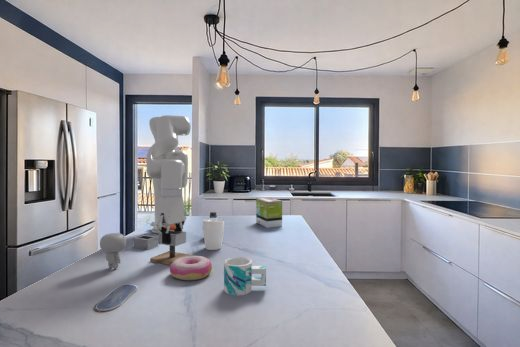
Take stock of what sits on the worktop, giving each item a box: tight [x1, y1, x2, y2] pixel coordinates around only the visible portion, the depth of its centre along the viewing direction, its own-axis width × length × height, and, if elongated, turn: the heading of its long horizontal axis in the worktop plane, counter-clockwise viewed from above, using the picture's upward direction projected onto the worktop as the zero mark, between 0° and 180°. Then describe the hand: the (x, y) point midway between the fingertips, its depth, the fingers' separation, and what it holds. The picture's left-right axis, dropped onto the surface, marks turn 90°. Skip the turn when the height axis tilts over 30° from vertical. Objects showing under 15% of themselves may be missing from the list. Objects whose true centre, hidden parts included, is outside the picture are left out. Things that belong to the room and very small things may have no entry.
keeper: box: [149, 245, 195, 266], centre depth 119 cm, size 12×10×7 cm
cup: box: [202, 217, 225, 251], centre depth 135 cm, size 9×9×12 cm
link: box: [157, 230, 187, 247], centre depth 119 cm, size 8×6×4 cm
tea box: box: [255, 197, 283, 229], centre depth 183 cm, size 15×10×15 cm, turn 25°
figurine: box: [99, 232, 127, 270], centre depth 110 cm, size 8×8×12 cm
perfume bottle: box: [209, 211, 218, 218], centre depth 153 cm, size 6×6×12 cm
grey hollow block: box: [133, 234, 159, 251], centre depth 137 cm, size 8×6×4 cm
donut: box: [169, 255, 213, 281], centre depth 105 cm, size 14×13×5 cm
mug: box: [223, 256, 267, 296], centre depth 93 cm, size 8×12×8 cm
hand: (172, 241), depth 119 cm, fingers closed on link, 6 cm apart
